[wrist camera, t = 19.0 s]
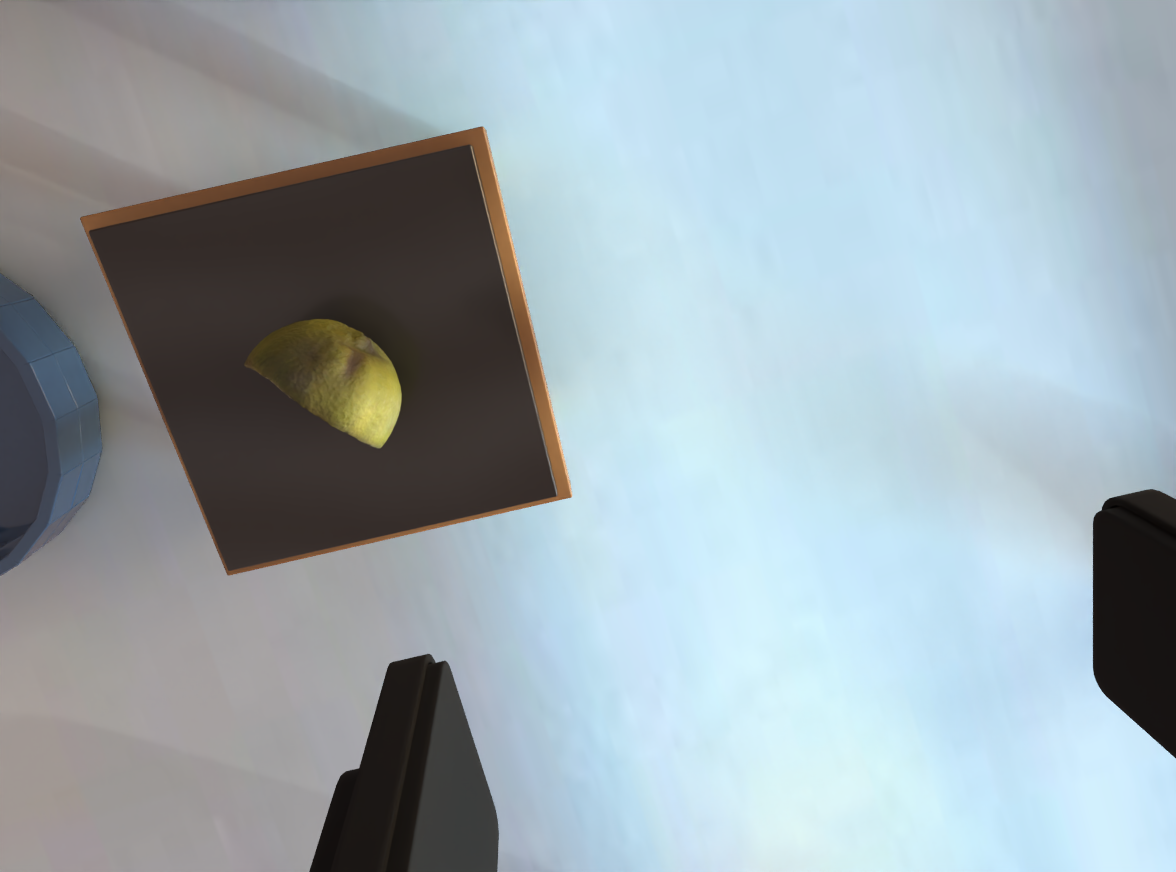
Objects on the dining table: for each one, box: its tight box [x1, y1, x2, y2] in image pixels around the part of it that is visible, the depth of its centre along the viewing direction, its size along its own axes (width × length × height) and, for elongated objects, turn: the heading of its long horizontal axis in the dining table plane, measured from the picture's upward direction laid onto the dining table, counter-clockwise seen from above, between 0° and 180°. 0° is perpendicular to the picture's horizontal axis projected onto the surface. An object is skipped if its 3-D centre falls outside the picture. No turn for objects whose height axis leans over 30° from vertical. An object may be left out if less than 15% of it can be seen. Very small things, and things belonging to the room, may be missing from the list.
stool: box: [80, 127, 572, 575], centre depth 32 cm, size 14×14×10 cm
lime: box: [244, 319, 402, 449], centre depth 25 cm, size 4×5×5 cm
